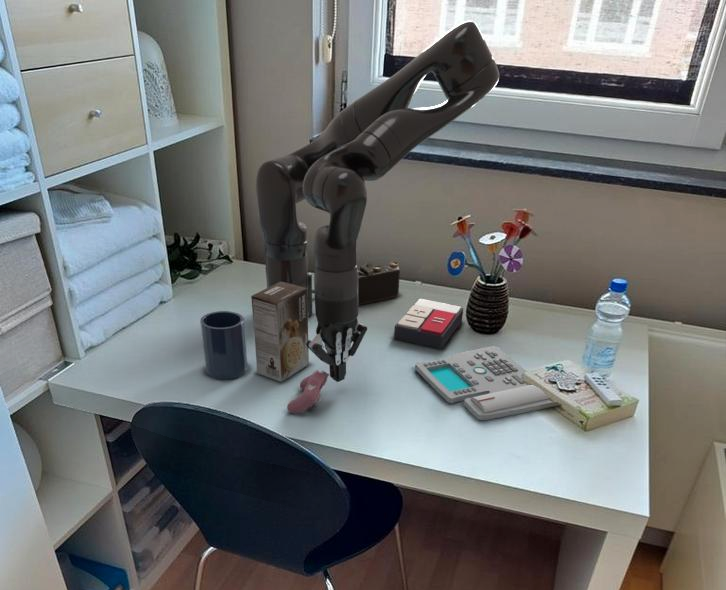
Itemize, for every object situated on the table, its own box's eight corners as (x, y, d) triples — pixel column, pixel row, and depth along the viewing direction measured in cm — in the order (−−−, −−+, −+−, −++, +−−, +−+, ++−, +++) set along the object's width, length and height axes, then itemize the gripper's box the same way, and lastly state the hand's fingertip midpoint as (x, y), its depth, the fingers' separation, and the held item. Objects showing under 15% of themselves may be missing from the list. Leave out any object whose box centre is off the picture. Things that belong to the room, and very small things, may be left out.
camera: (387, 287, 170) (389, 255, 165) (402, 297, 165) (404, 264, 160) (329, 299, 163) (329, 266, 158) (343, 309, 158) (343, 275, 154)
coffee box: (284, 356, 139) (281, 279, 129) (309, 364, 136) (308, 287, 126) (255, 373, 133) (250, 294, 123) (281, 383, 130) (278, 303, 120)
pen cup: (233, 356, 138) (228, 307, 132) (255, 371, 133) (252, 321, 127) (198, 367, 134) (192, 317, 127) (220, 383, 129) (214, 332, 123)
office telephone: (565, 393, 126) (473, 414, 119) (562, 405, 127) (471, 426, 120) (496, 339, 142) (412, 355, 135) (494, 351, 144) (410, 366, 137)
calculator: (394, 323, 145) (418, 295, 155) (393, 341, 147) (417, 312, 158) (443, 333, 141) (464, 304, 152) (441, 351, 144) (462, 322, 155)
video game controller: (306, 424, 122) (323, 396, 117) (284, 411, 121) (300, 382, 117) (320, 397, 129) (336, 369, 125) (299, 384, 129) (314, 357, 124)
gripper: (320, 308, 110) (323, 399, 121) (379, 287, 117) (377, 375, 128) (292, 294, 115) (297, 383, 125) (351, 274, 122) (351, 360, 132)
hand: (338, 379), depth 127 cm, fingers closed
